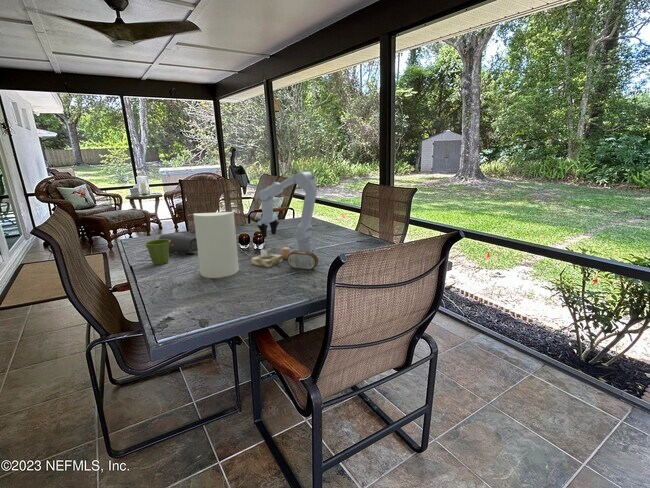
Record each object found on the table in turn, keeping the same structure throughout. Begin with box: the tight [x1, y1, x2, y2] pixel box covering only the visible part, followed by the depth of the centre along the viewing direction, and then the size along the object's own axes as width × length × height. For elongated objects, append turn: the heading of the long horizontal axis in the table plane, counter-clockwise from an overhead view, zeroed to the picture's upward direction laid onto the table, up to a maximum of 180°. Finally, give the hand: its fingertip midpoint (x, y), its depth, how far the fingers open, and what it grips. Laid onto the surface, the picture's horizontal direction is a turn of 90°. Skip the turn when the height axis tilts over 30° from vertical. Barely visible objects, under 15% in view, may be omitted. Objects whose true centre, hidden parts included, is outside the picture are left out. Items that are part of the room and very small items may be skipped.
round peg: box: [280, 246, 291, 260], centre depth 176 cm, size 5×5×5 cm
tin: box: [286, 250, 319, 271], centre depth 158 cm, size 15×3×8 cm, turn 71°
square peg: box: [260, 247, 273, 259], centre depth 168 cm, size 4×4×7 cm
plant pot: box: [144, 238, 170, 265], centre depth 170 cm, size 12×12×11 cm
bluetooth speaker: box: [158, 234, 198, 254], centre depth 188 cm, size 23×9×10 cm, turn 68°
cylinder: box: [192, 211, 240, 279], centre depth 154 cm, size 17×17×28 cm
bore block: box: [250, 253, 284, 268], centre depth 169 cm, size 11×11×3 cm
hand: (269, 235), depth 185 cm, fingers open, 7 cm apart
